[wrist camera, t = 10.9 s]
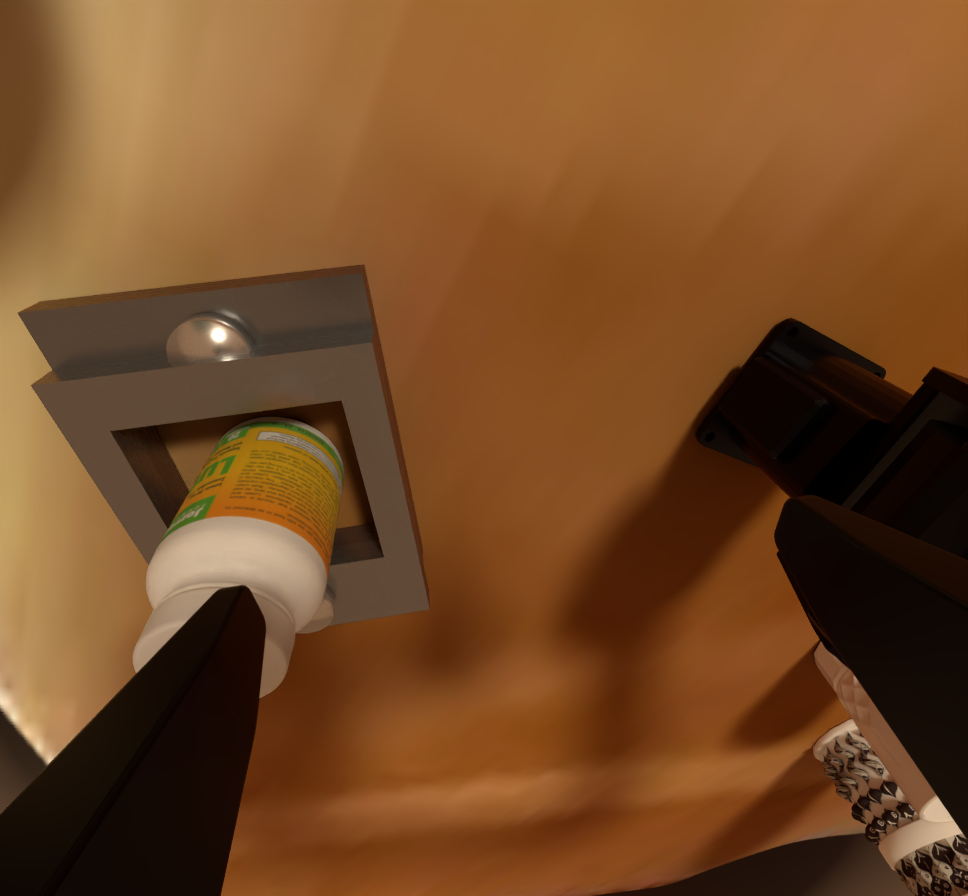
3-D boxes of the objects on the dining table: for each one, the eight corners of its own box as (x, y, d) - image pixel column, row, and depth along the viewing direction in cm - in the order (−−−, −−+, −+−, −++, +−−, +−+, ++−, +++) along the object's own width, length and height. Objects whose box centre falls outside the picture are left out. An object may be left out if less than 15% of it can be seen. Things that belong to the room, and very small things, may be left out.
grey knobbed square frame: (39, 301, 17) (-28, 335, 14) (364, 264, 18) (357, 290, 15) (217, 606, 26) (196, 661, 23) (427, 572, 27) (430, 623, 24)
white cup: (911, 645, 38) (1052, 791, 30) (810, 684, 39) (918, 835, 31) (911, 588, 34) (1077, 740, 25) (798, 634, 35) (921, 793, 27)
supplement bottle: (240, 390, 20) (127, 578, 12) (366, 444, 22) (344, 634, 14) (198, 487, 22) (78, 702, 14) (316, 527, 24) (272, 733, 16)
